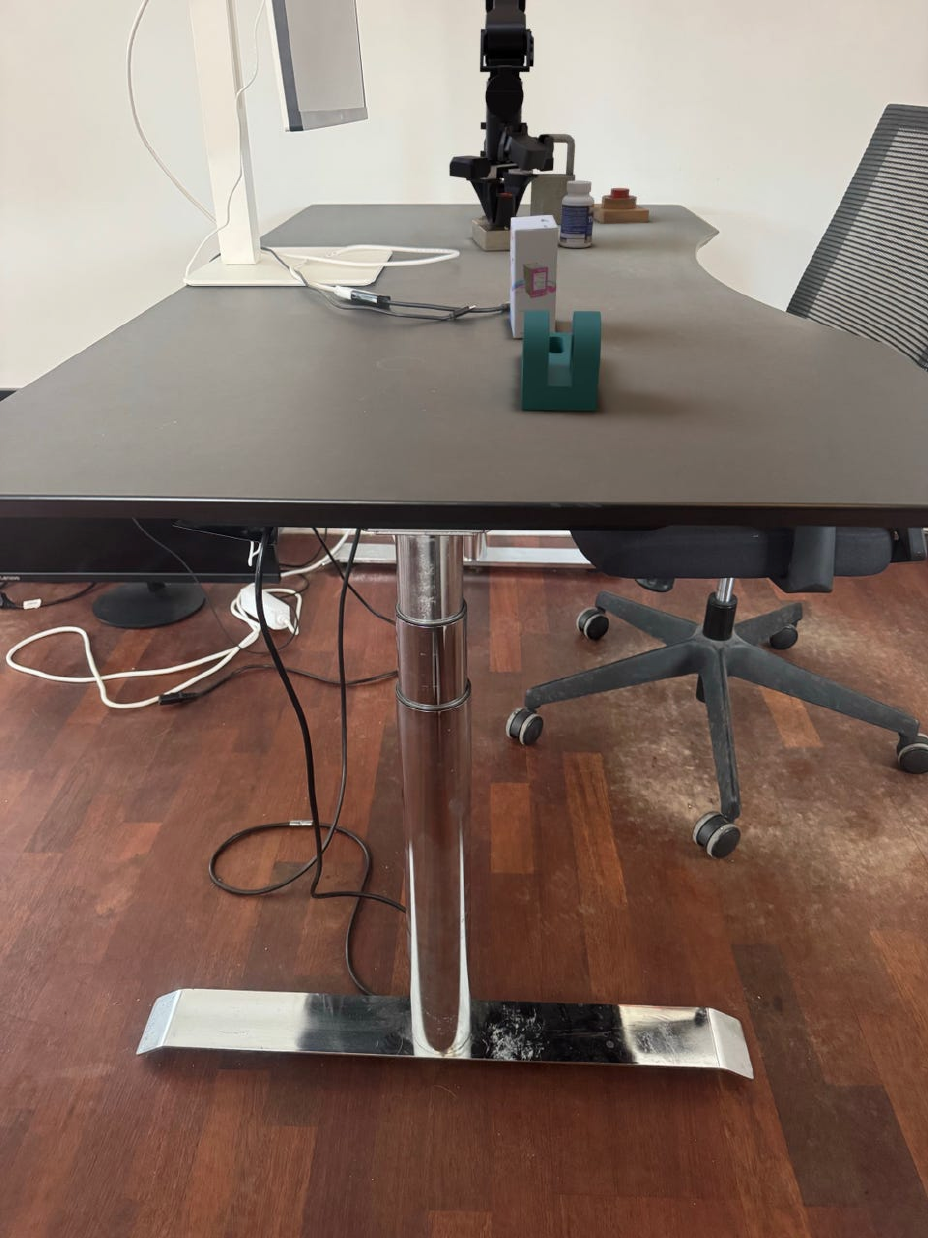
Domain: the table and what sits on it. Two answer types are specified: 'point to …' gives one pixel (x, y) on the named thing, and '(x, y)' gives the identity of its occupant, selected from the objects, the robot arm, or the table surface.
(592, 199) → the pill bottle
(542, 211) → the padlock
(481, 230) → the beige flat rectangular block
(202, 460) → the table surface
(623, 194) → the button
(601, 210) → the wooden button base
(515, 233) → the ink box
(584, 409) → the bracket
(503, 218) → the knob
